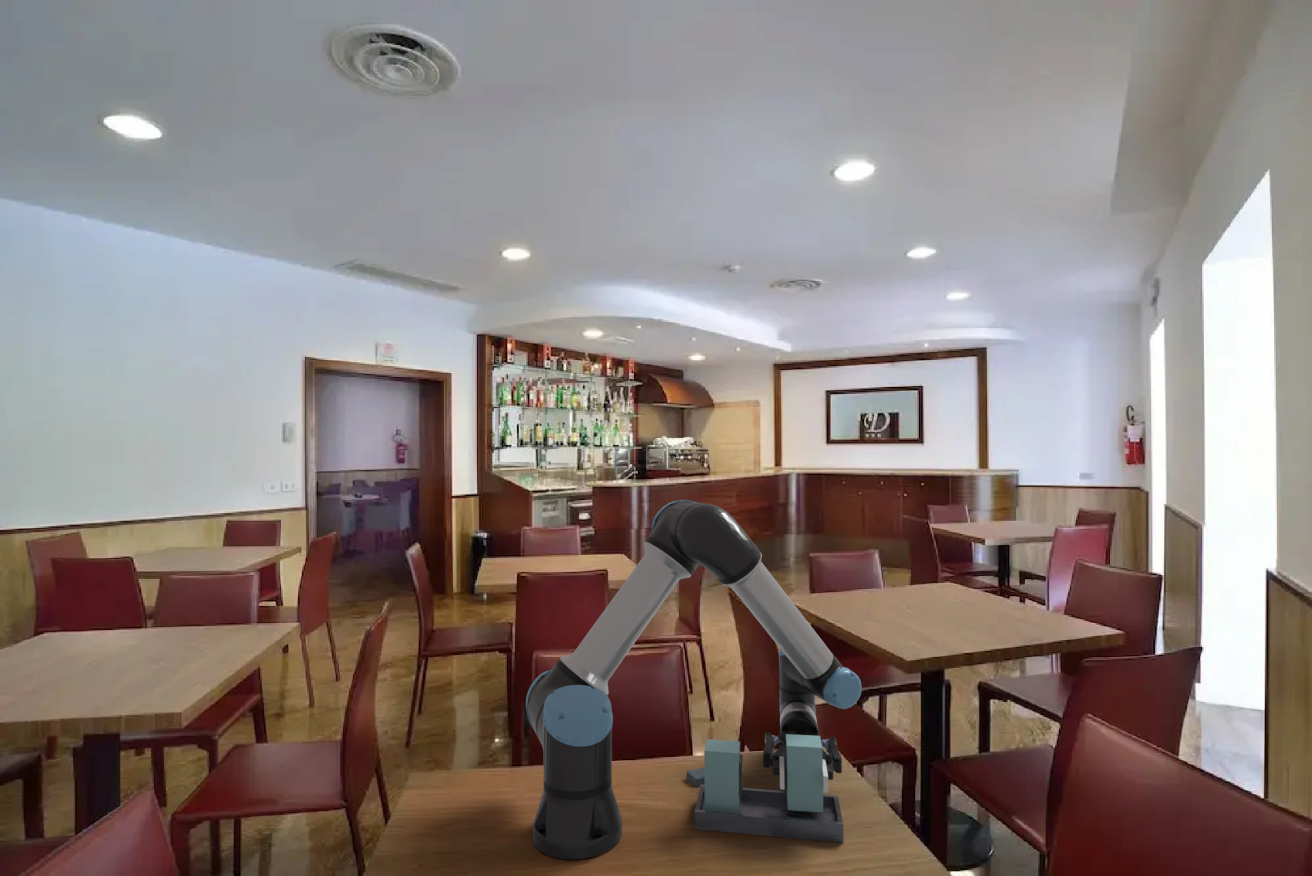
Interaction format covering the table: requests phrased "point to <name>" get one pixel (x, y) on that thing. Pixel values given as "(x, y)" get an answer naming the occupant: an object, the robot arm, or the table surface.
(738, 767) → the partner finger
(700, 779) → the bracket
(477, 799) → the table surface
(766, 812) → the dark gray tray
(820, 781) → the finger
